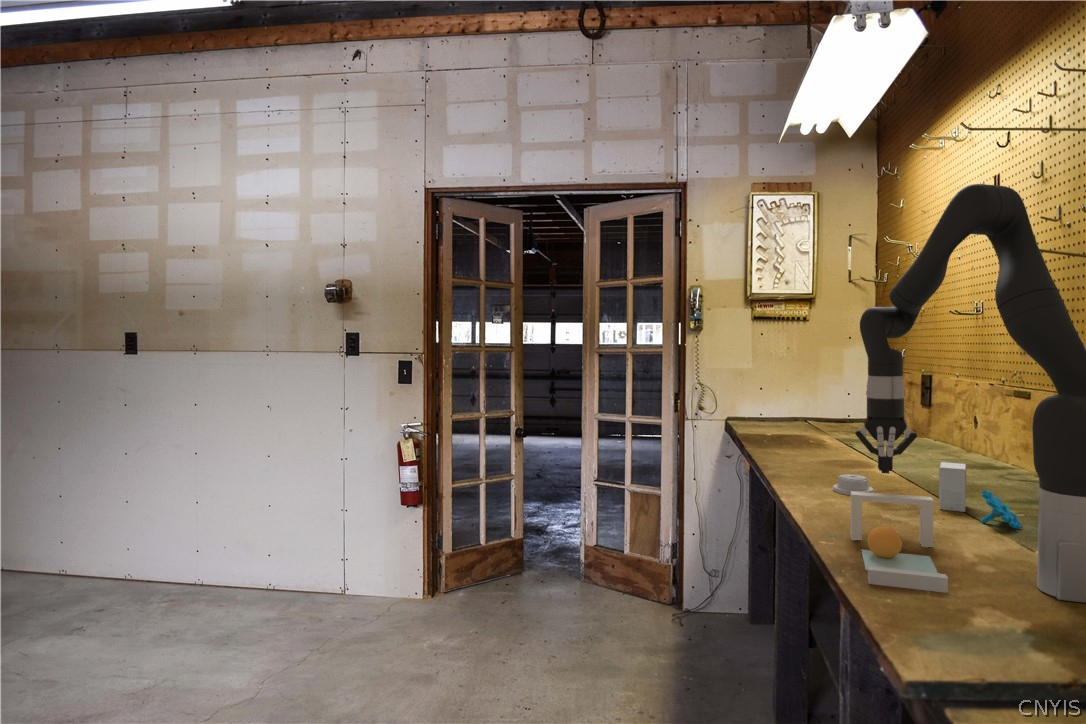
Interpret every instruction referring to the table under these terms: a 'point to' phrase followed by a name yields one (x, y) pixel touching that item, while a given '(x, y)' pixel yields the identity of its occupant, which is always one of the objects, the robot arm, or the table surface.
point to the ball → (884, 542)
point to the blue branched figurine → (999, 510)
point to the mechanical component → (852, 484)
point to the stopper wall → (908, 579)
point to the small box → (952, 486)
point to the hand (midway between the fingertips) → (885, 472)
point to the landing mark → (899, 562)
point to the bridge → (923, 501)
